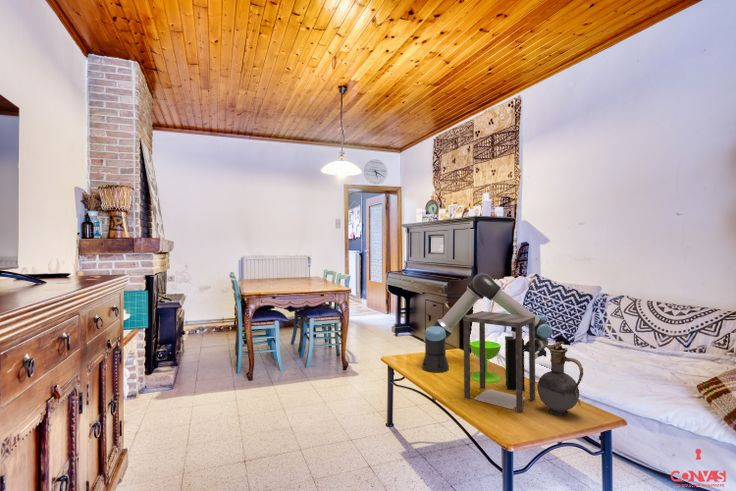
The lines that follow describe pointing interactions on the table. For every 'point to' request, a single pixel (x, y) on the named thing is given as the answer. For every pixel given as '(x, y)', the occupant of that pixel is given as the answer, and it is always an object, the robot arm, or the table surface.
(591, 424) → the table surface
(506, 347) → the tissue box
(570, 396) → the pitcher
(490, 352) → the wineglass
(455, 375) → the table surface
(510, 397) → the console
